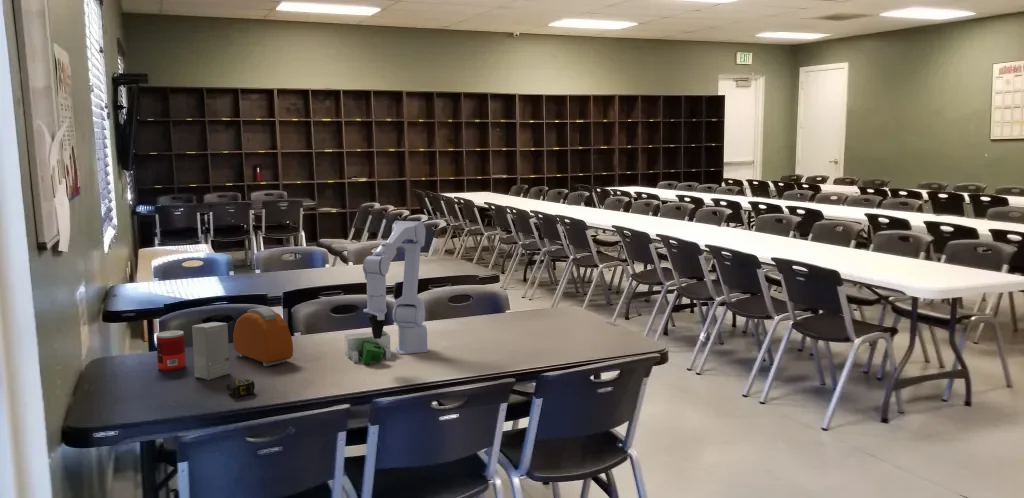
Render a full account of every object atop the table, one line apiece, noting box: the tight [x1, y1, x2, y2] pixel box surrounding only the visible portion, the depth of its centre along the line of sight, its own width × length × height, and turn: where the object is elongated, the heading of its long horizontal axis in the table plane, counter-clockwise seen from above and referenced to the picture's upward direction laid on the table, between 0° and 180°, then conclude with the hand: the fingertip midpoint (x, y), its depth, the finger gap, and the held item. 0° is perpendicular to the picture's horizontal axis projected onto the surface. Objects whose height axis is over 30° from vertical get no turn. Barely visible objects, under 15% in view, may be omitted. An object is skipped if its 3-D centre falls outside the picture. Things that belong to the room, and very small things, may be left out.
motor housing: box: [344, 329, 392, 364], centre depth 248 cm, size 14×12×7 cm
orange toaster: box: [232, 307, 294, 367], centre depth 244 cm, size 23×9×17 cm, turn 47°
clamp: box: [359, 342, 384, 366], centre depth 243 cm, size 11×6×8 cm, turn 10°
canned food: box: [155, 329, 187, 372], centre depth 234 cm, size 8×8×11 cm
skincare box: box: [191, 321, 231, 381], centre depth 226 cm, size 8×7×16 cm
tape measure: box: [226, 378, 256, 397], centre depth 209 cm, size 7×7×4 cm
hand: (377, 338), depth 232 cm, fingers closed
